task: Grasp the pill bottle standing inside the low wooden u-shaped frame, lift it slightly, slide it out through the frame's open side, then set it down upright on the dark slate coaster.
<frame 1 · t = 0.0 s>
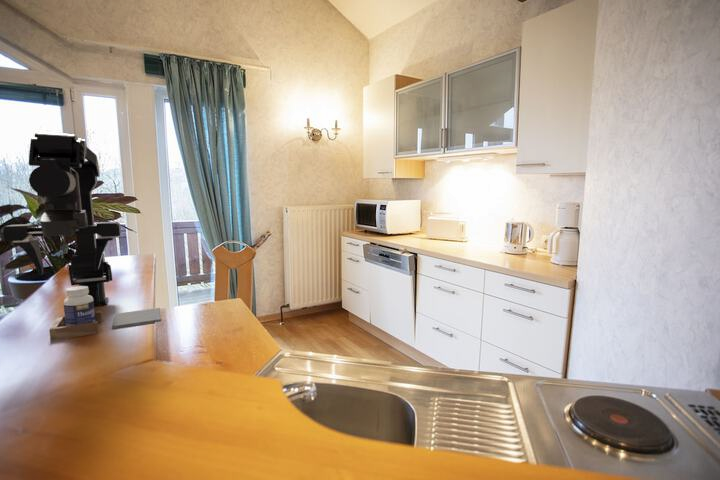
hand: (70, 271, 76), 15 cm above the countertop, fingers open, 9 cm apart
wooden u-shaped frame: (81, 329, 83), on the countertop
pill bottle: (81, 330, 83), on the countertop
slate coaster: (137, 318, 91), on the countertop
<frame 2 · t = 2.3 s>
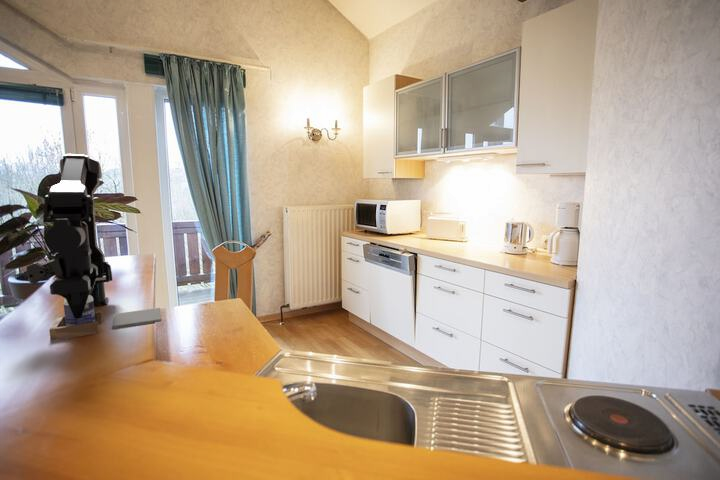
hand: (80, 314, 83), 4 cm above the countertop, fingers closed on pill bottle, 5 cm apart
pill bottle: (81, 330, 83), on the countertop, touching gripper
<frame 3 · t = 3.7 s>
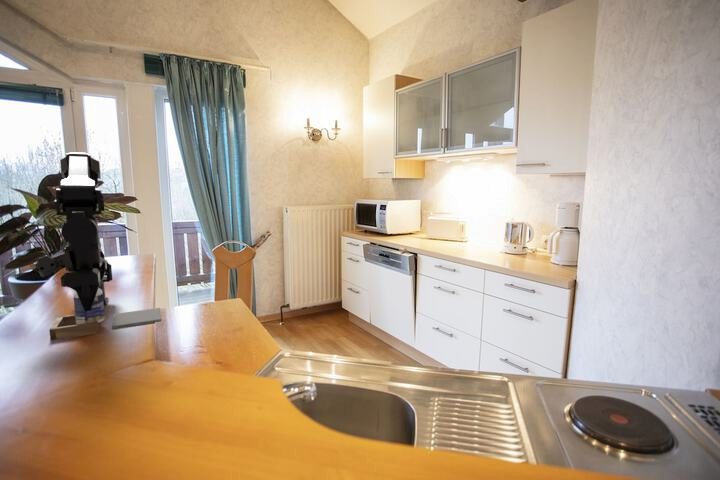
hand: (89, 307, 84), 5 cm above the countertop, fingers closed on pill bottle, 5 cm apart
pill bottle: (91, 322, 84), point 1 cm above the countertop, touching gripper
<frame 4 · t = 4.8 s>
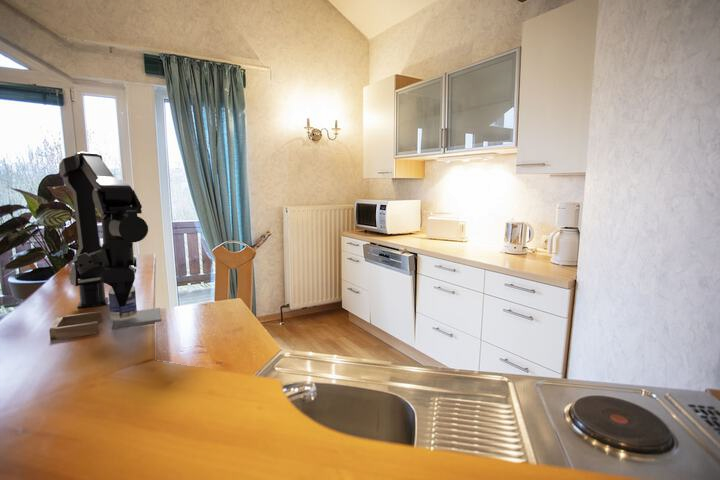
hand: (123, 303, 87), 5 cm above the countertop, fingers closed on pill bottle, 5 cm apart
pill bottle: (124, 318, 87), point 1 cm above the countertop, touching gripper
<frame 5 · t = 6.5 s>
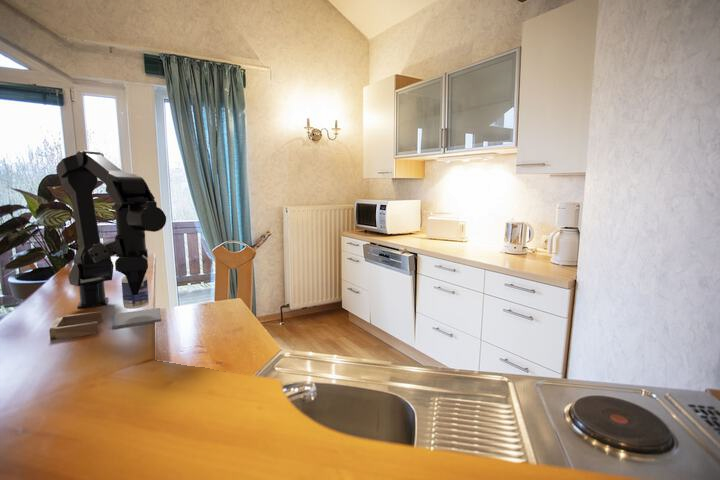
hand: (135, 291, 90), 7 cm above the countertop, fingers closed on pill bottle, 5 cm apart
pill bottle: (136, 306, 90), point 3 cm above the countertop, touching gripper
when the fingers open (6 cm above the countertop, at t = 7.5 s): pill bottle drops 1 cm, resting on slate coaster.
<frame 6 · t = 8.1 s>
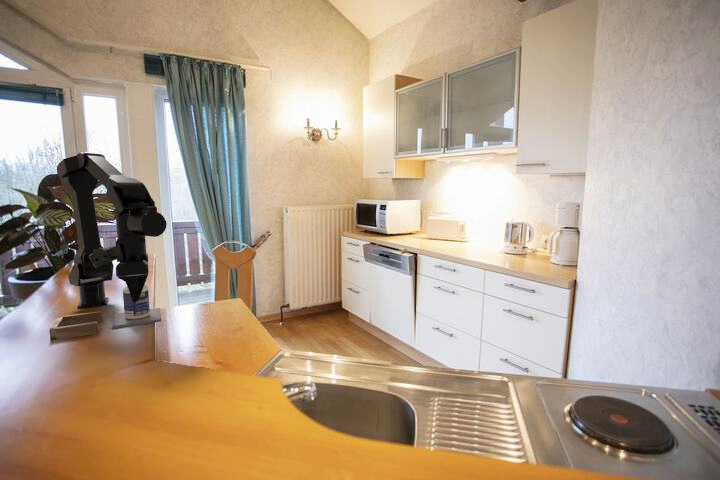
hand: (136, 296, 90), 6 cm above the countertop, fingers open, 9 cm apart
pill bottle: (137, 316, 91), resting on slate coaster
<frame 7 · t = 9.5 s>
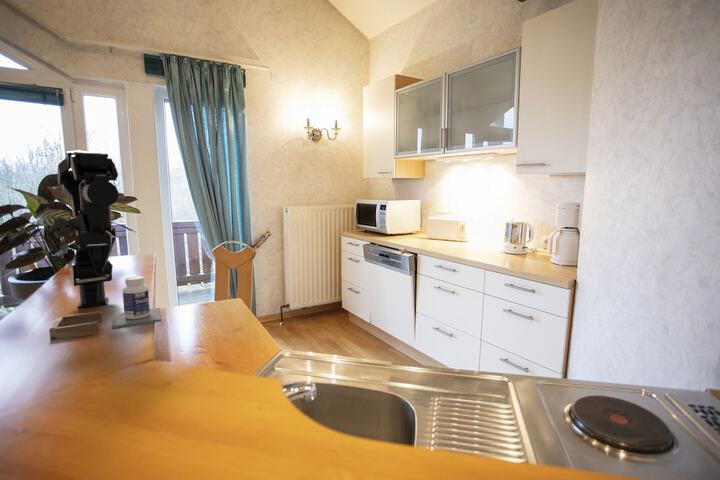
hand: (101, 269, 89), 12 cm above the countertop, fingers open, 9 cm apart
nothing on the countertop moved.
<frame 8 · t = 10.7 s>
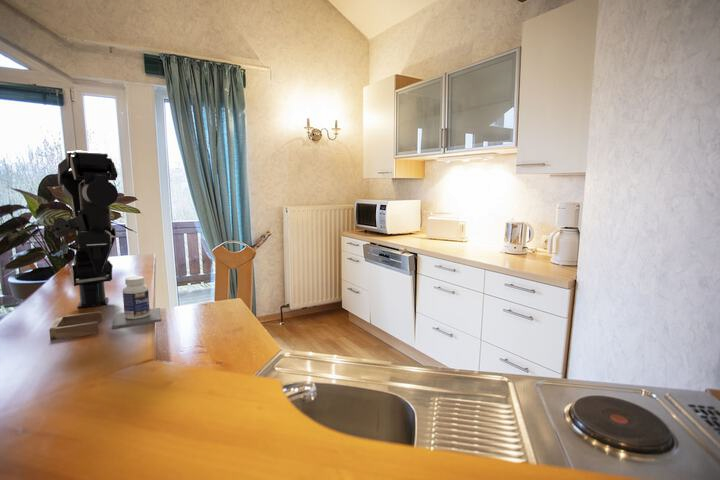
hand: (101, 269, 89), 13 cm above the countertop, fingers open, 9 cm apart
nothing on the countertop moved.
at the end: pill bottle inside the target area on the slate coaster (0.1 cm from its centre), point 0.4 cm above the slate coaster's base; pill bottle tilted 0°; the gripper is holding nothing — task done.
